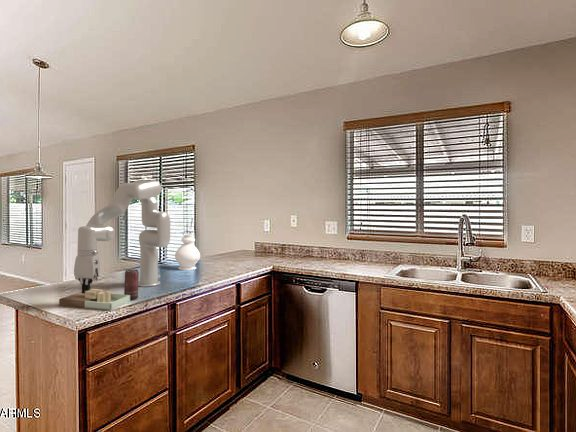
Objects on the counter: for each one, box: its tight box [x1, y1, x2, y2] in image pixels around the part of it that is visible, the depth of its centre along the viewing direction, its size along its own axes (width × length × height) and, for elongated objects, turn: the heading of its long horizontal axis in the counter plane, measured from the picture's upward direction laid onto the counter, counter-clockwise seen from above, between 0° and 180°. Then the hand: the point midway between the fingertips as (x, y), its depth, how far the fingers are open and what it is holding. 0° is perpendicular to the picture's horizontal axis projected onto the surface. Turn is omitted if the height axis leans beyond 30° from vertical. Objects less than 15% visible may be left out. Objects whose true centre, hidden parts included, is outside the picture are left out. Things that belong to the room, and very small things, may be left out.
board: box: [58, 291, 97, 309], centre depth 155 cm, size 14×12×3 cm
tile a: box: [85, 288, 104, 299], centre depth 154 cm, size 5×5×3 cm
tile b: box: [97, 290, 112, 303], centre depth 153 cm, size 5×5×3 cm
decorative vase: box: [174, 233, 201, 271], centre depth 244 cm, size 18×18×25 cm
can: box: [123, 269, 140, 301], centre depth 163 cm, size 6×6×14 cm
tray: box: [84, 293, 131, 311], centre depth 153 cm, size 14×12×3 cm
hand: (85, 292), depth 154 cm, fingers closed
